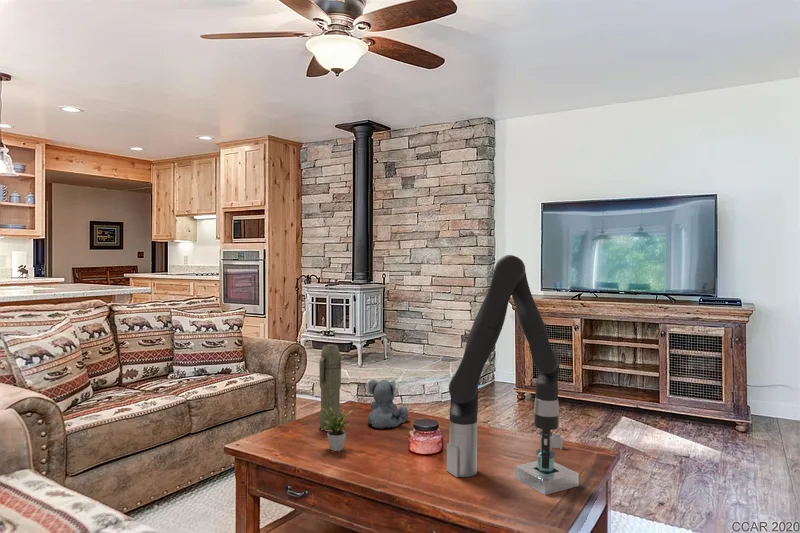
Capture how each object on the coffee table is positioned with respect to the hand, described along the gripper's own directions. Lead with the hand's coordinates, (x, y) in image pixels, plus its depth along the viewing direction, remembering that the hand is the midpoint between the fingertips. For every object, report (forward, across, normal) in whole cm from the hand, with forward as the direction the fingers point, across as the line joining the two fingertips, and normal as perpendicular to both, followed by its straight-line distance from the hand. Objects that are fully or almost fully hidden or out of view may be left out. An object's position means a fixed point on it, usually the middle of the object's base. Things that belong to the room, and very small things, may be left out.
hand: (545, 464), depth 172 cm
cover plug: (+5, 0, 0) cm, 5 cm away
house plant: (+6, +6, +77) cm, 78 cm away
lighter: (+6, +34, -2) cm, 34 cm away
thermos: (+6, +29, +88) cm, 93 cm away
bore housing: (+6, 0, 0) cm, 6 cm away
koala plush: (+6, +42, +68) cm, 80 cm away
